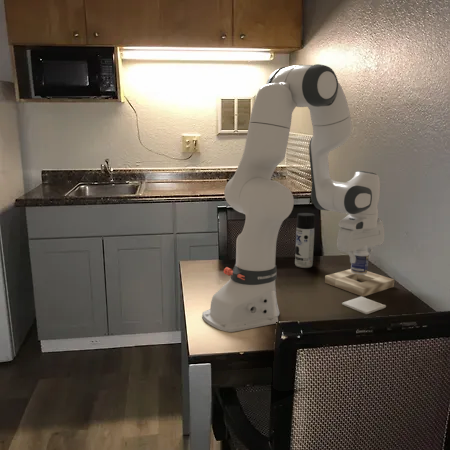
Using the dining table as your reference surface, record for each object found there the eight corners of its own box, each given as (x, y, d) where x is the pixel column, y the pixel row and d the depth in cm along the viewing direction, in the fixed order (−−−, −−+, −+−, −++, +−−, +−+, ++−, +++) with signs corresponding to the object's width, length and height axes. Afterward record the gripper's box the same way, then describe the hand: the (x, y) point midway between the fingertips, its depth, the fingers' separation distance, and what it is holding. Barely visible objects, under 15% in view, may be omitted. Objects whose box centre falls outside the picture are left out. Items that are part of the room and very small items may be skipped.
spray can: (291, 263, 182) (293, 212, 178) (307, 262, 184) (310, 212, 180) (299, 268, 176) (301, 216, 172) (315, 267, 178) (318, 215, 174)
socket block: (363, 296, 149) (363, 289, 148) (324, 282, 161) (325, 275, 161) (393, 286, 158) (394, 279, 157) (355, 274, 170) (355, 267, 170)
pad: (366, 314, 135) (366, 312, 135) (342, 304, 142) (342, 302, 142) (385, 307, 140) (386, 305, 140) (361, 298, 147) (361, 296, 147)
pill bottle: (368, 275, 155) (370, 247, 153) (351, 274, 156) (353, 245, 154) (366, 270, 161) (369, 243, 158) (350, 269, 162) (352, 242, 160)
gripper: (375, 215, 163) (371, 254, 166) (335, 222, 151) (332, 263, 154) (390, 218, 158) (387, 258, 161) (350, 225, 146) (347, 268, 149)
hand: (359, 261), depth 158 cm, fingers closed on pill bottle, 5 cm apart
